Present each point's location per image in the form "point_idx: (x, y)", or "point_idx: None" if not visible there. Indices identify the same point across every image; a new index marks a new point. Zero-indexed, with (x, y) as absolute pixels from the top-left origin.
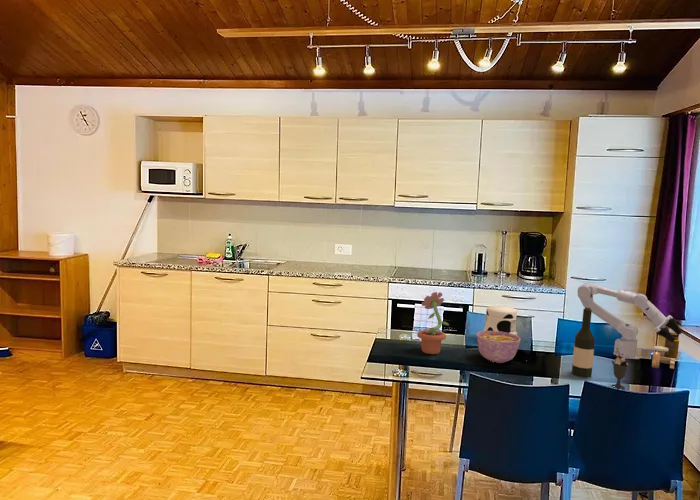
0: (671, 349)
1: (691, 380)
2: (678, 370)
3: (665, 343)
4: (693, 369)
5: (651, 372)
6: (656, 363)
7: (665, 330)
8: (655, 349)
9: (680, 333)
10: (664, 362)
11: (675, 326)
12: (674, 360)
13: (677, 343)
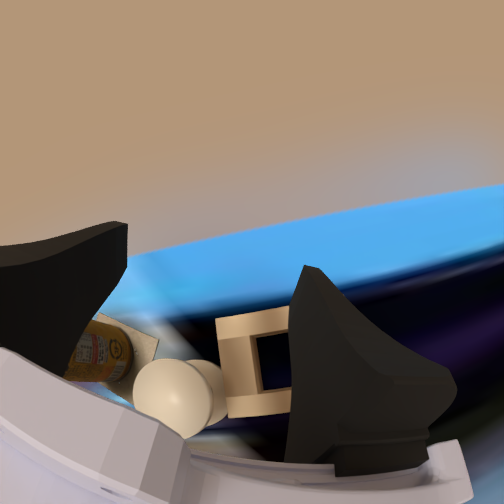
0: (104, 347)
1: (450, 202)
2: (350, 276)
3: (77, 378)
4: (263, 230)
5: (489, 353)
6: None
7: (431, 368)
8: (200, 430)
9: (125, 240)
10: (259, 364)
11: (68, 272)
12: (265, 311)
13: None
